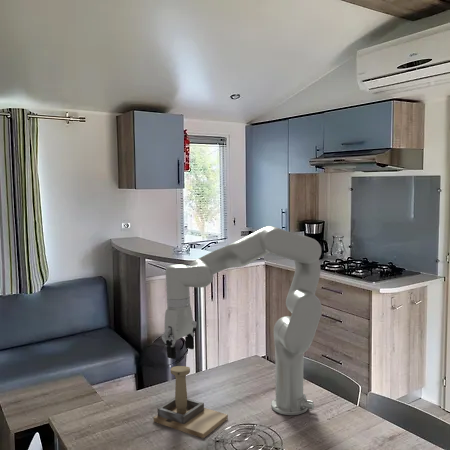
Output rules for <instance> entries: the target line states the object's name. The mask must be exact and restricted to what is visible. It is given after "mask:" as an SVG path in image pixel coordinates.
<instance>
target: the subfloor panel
mask: <svg viewBox="0 0 450 450" xmlns="http://www.w3.org/2000/svg"><path fill="white" fill-rule="evenodd" d="M186 408H187V411H186V413H185V414H179V413H177V410H176V409H177V408H176V402H175V397H174V398H173V399H170V400H169V401H167V402H165V403H164V404H162V405H161V406H159V407H157V415H155V416H153V417H152V418H153V423H157V424H158V425H162V426H164V427H169V428H171V429H174V430H177V431H179V432H183V433H185V434H189V435H192V436H195V437H198V438H201V439H204V438H206V437H207V436H209V434H211V433H212V432H214V431H215V430H216V429H217V428H218V427H220V426H221V425H222V424H224V422H226V421H227V420H228V419H229V415H228V414H227V413H224V412H220V411H217V410H214V409H210V408H207V407H205V403H204V402H202V401H197V400H194V399H191V398H188V397H187V407H186Z"/></svg>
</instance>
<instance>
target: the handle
mask: <svg viewBox="0 0 450 450" xmlns="http://www.w3.org/2000/svg"><path fill="white" fill-rule="evenodd" d="M190 373H191V367H190V366H186V365H177V366H173V367H171V368H170V374H171V375H173V376H174V377H175V386H174V387H175V388H174V390H175V392H174V393H175V394H174V398H175V402H176V408H177V409H176V410H177V413H179V414H185V413H186V411H187V408H186V407H187V398H188V390H187V378H186V376H187V375H189V374H190Z"/></svg>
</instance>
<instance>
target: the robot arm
mask: <svg viewBox="0 0 450 450" xmlns="http://www.w3.org/2000/svg"><path fill="white" fill-rule="evenodd" d="M268 254H272V255H275V256H278V257H281V258H284V259H286V260H287V259H288V260H291V261H294V264H295V265H294V266H295V267H294V274H293V278H292V281H291V285H290V287H289V289H288V293H287V296H286V299H285V307H286V308H287V311H289V312H290V313H291V315H290V316H289V315H286V316H285V315H284V316H282V317H280V318H278V319H277V320H276V321H275V323H274V326H273V340H274V341H273V342H274V351H275V352H274V353H275V356H274V357H275V362H274V363H275V366H274V367H275V372H274V373H275V398H274V399H272V401H271V403H270V406H271V409H272V410H273V411H274V412H275V413H278V414H281V415H284V416H285V415H286V416H297V415H301V414H304V413H305V412H307V411H308V410H312V411H313V410H314V409H315V404H314V401H313V400H310V399H308V398H307V394H305V393H304V353H305V352H306V353H307V351H308V350H309V349H310V347H311V345H312V343H313V341H314V338H315V335H316V333H317V332H316V331H317V329H318V327H319V326H318V325H319V323H320V319H321V316H322V314H323V313H322V311H323V310H322V309H323V307H322V302H321V300H320V299H319V297H318V296H317V295H316V292H317V289H318V284H319V281H320V276H321V263H320V258H321V255H322V246H321V244H320V243H319V241H317V240H316V239H315V238H314V237H313V238H312V237H309V236H306V235H303V234H298V233H294V232H291V231H287V230H286V229H282V228H279V227H276V226H271V225H267V226H264V227H262V228H260V229H258V230H256V231H254V232H252V233H250V234H249V235H248V234H247V236H245V237H243V238H241V239H239V240H236V241H234V242H232V243H230V244H227V245H225V246H222V247H220V248H219V249H215V250H213V251H211V252H209V253H207V254H205V255H203V256H201V257H198V258H197V259H195V260H193V261H192V262H191V263H190V264H189V266H188V265H185V264H182V263H181V264H178V263H176V264H171V265H167V267H166V268H165V288H166V308H165V313H164V332H163V333H162V335H161V340H162V341H163V344H164V345H165V347H166V357H167V358H168V359H173V360H175V359H177V351H176V346H175V344H176V342H177V341H178V340H180V339H181V338H184V337H185V339H184V340H185V341H184V342H185V343H184V344H185V346H184V347H185V349H189V350H194V349H195V341H194V340H195V335H196V334H195V333H196V331H197V323H198V322H197V321H195V320H194V319H193V312H192V307H191V298H190V297H191V296H190V295H191V294H190V291H191V290H190V288H205V287H208V286H209V285H210V284H211V283H212V282H213V280H214V275H216V274H218V273H220V272H221V271H225V270H227V269H233V268H241V267H246V266H248V265H249V264H251V263H253V262H255V261H257V260H259V259H261V258H263V257H265V256H266V255H268ZM171 340H172V341H171Z"/></svg>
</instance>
